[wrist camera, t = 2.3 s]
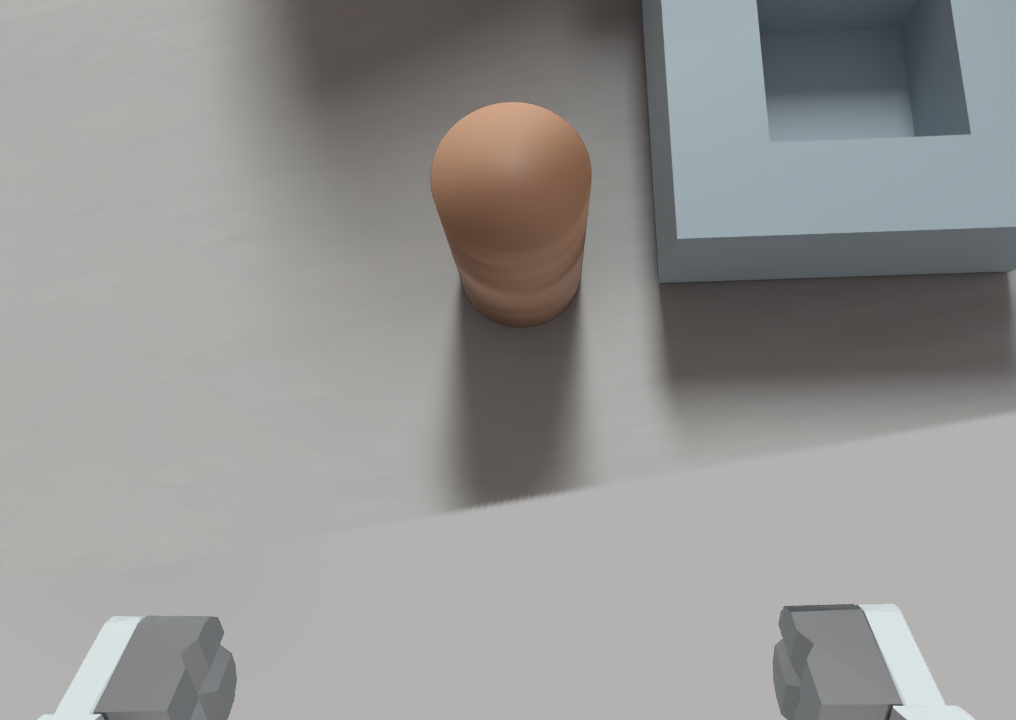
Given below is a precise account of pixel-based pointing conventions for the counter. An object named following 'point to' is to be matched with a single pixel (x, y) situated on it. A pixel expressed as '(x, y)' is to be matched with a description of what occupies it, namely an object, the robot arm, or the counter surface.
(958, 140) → the square socket block
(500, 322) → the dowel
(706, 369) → the counter surface
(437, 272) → the counter surface
